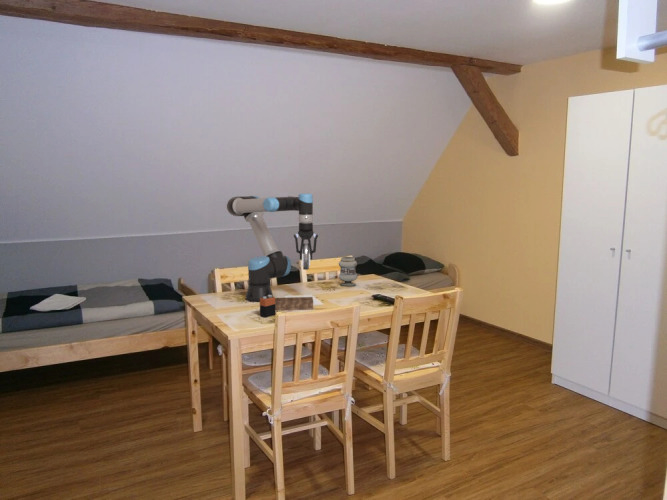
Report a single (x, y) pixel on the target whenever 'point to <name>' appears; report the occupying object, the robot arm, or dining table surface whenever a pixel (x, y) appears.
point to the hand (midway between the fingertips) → (306, 265)
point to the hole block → (294, 303)
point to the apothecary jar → (348, 271)
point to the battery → (267, 306)
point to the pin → (305, 256)
